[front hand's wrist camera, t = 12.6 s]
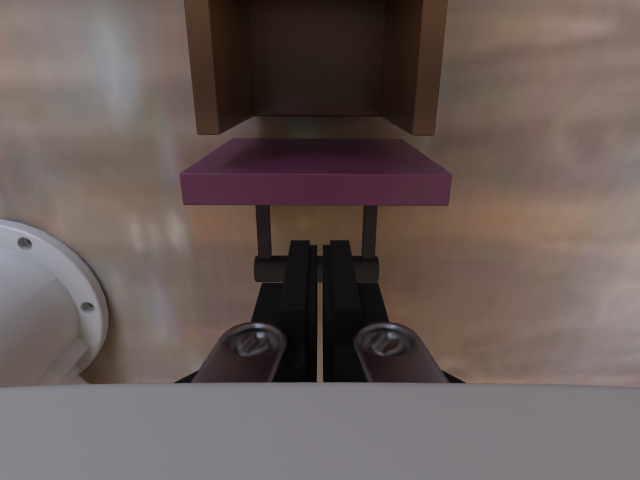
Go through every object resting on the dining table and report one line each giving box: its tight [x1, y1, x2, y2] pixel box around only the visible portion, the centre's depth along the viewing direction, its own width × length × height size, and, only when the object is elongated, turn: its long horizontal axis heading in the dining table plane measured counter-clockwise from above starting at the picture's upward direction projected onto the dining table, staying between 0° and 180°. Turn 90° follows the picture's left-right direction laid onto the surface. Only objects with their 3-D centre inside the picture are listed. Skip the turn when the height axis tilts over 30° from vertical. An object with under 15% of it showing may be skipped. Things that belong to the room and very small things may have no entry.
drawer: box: [180, 0, 452, 282], centre depth 18 cm, size 21×10×10 cm, turn 0°
